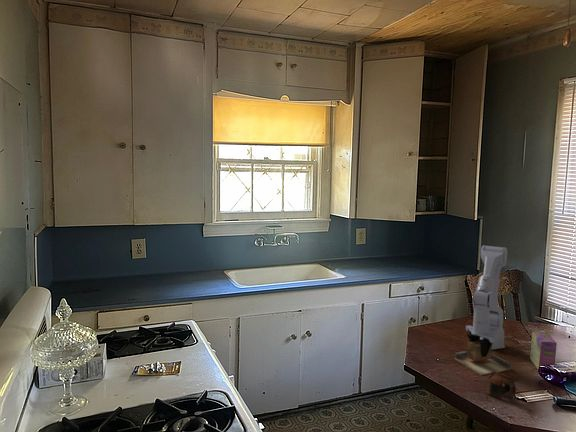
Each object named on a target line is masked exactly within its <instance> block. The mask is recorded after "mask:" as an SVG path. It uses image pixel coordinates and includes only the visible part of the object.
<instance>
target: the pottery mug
mask: <svg viewBox="0 0 576 432" xmlns="http://www.w3.org/2000/svg"><path fill="white" fill-rule="evenodd" d="M488 379H489V381H490V386H486V394H488V395H490V396H492V397H494V398H497V399H499V400H503V397H505V398H507V399H508V398H511V397H512V396H514V395H515V394H516V390H517V388H516V383H515V382H516V379H515V378H513V377H511V376H509V375H507V374H504V373H501V372H492V373H491V375H489V376H488Z"/></svg>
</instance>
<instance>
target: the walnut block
mask: <svg viewBox="0 0 576 432" xmlns="http://www.w3.org/2000/svg"><path fill="white" fill-rule="evenodd" d="M466 351H467V357H468V358H470V359H472V360H473V361H480V360H486V359H491V355H492V354H493V352H492V351H493V350H492V345H491V347H490V349H489V351H488V354H487V356H486V357H482V356H481V345H480V342H479V341H474V342H470V341H468V342H467V348H466Z"/></svg>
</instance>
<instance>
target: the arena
mask: <svg viewBox="0 0 576 432" xmlns="http://www.w3.org/2000/svg"><path fill="white" fill-rule="evenodd" d="M453 357H454V360H456V361H458V362H459V363H460V364H462V365H463V366H465V367H467V368H469V369H470V370H471V371H473V372H475V373H477V374H479V376H483V375H489V374H493V373H492V372H498V373H501V372H505V371H511V362H509V361H508V360H505V359H503V358H501V357H499V356H497V355H496V354H494V353H492V355H491V359H486V360H480V361H473V360H472V359H470V358H468V357H467V350H464V351H458V352H454V356H453Z"/></svg>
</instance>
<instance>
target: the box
mask: <svg viewBox="0 0 576 432" xmlns="http://www.w3.org/2000/svg"><path fill="white" fill-rule="evenodd" d="M557 346H558V345H557V341H556V340H554V338H552V336H551V335H550V334H549V333H548V332H543V331H532V332H531V345H530V356H529V357H530V358H529V360H530V361H531V362H532V363H533V364H534V366H535V367H536V369H537V370H538V369H539V367H540V366H542V365H556V356H557V355H556V354H557Z"/></svg>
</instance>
